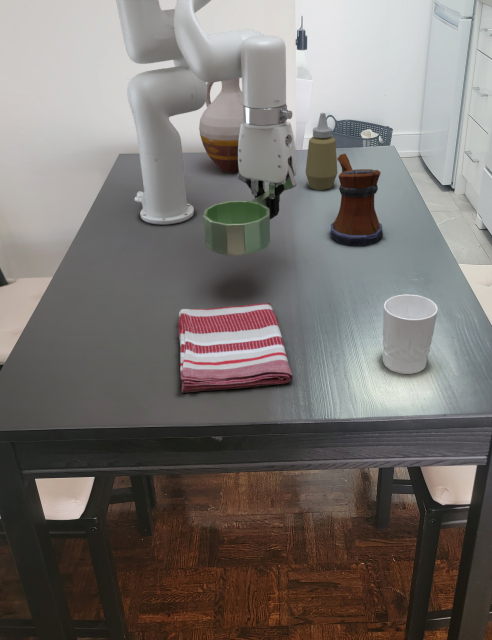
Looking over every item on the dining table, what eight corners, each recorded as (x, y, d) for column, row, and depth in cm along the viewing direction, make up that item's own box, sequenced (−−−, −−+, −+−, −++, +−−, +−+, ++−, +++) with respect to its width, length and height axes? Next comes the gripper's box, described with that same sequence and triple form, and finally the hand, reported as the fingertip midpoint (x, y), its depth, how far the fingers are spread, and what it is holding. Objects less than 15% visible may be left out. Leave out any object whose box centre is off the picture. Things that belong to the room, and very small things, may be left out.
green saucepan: (247, 260, 118) (246, 229, 115) (193, 247, 123) (190, 217, 120) (302, 221, 131) (303, 193, 128) (251, 211, 136) (250, 184, 133)
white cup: (374, 350, 111) (378, 295, 106) (422, 347, 112) (429, 292, 106) (385, 378, 105) (391, 321, 99) (436, 374, 105) (444, 317, 100)
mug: (315, 218, 159) (317, 152, 150) (364, 213, 160) (367, 148, 152) (337, 249, 144) (340, 178, 136) (390, 243, 146) (396, 173, 137)
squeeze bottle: (342, 184, 177) (345, 111, 167) (327, 194, 171) (330, 119, 161) (314, 179, 181) (316, 107, 171) (299, 188, 175) (300, 115, 165)
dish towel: (181, 395, 103) (179, 380, 101) (178, 318, 122) (177, 304, 121) (293, 385, 104) (293, 370, 103) (273, 310, 123) (273, 297, 122)
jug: (185, 167, 192) (174, 49, 175) (233, 153, 202) (228, 40, 185) (231, 183, 180) (224, 58, 163) (280, 167, 190) (279, 48, 173)
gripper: (314, 114, 119) (313, 216, 130) (238, 105, 126) (243, 202, 137) (293, 125, 114) (293, 230, 125) (215, 115, 121) (221, 215, 132)
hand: (267, 215), depth 131 cm, fingers closed on green saucepan
